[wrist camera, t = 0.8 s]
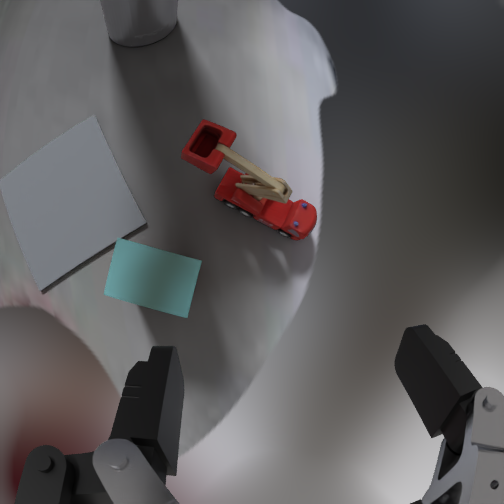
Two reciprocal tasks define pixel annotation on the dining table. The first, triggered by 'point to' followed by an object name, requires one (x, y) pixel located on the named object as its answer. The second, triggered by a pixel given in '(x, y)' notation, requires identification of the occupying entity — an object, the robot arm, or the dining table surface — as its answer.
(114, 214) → the grey mat
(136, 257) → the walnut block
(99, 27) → the dining table surface
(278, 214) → the toy fire truck
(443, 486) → the robot arm
